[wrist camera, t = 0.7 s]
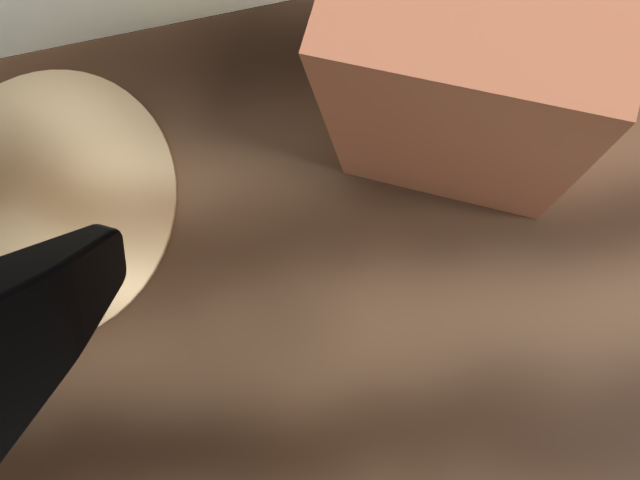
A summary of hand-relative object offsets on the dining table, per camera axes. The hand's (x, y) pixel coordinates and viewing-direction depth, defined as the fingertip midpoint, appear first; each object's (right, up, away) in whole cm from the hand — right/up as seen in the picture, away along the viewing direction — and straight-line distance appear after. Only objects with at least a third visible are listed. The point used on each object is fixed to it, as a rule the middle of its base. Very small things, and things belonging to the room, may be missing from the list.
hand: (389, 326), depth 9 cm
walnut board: (-3, 0, +14) cm, 15 cm away
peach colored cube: (+4, +6, +11) cm, 13 cm away
